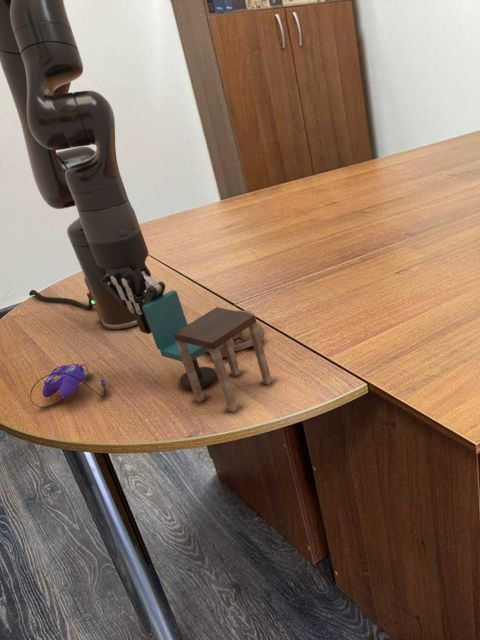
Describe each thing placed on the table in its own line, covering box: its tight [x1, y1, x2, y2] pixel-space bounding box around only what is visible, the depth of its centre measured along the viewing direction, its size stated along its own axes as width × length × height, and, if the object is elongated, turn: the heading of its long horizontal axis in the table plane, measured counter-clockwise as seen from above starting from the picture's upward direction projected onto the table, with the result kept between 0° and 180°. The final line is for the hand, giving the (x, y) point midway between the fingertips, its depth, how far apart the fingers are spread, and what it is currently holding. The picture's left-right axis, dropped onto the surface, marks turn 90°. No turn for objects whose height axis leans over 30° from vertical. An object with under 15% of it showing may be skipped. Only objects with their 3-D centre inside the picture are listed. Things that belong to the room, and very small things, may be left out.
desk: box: [173, 306, 273, 413], centre depth 102 cm, size 8×9×12 cm
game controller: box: [30, 363, 106, 409], centre depth 105 cm, size 10×8×10 cm
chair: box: [142, 289, 217, 390], centre depth 105 cm, size 6×6×15 cm
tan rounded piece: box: [206, 309, 265, 359], centre depth 118 cm, size 11×5×15 cm
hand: (149, 330), depth 108 cm, fingers closed
